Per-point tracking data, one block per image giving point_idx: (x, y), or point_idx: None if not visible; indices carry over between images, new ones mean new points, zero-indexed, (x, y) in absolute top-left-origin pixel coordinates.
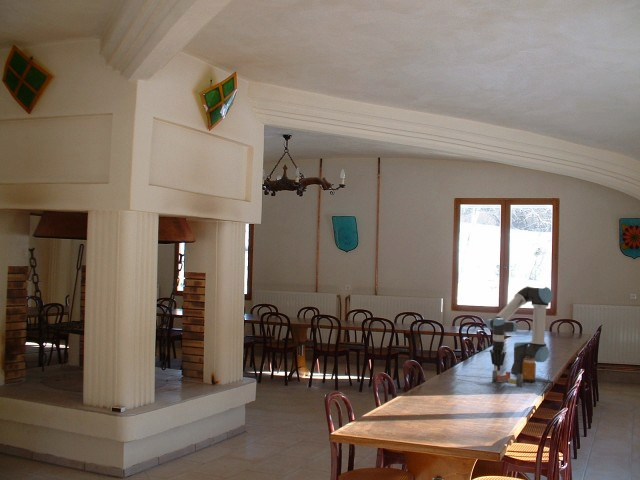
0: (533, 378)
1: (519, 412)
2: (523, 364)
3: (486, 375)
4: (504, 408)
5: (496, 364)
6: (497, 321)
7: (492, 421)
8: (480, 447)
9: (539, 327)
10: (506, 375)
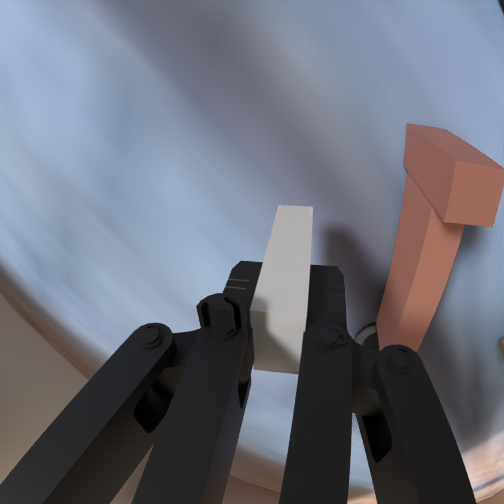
0: None
1: None
2: None
3: (45, 91)
4: (501, 471)
5: (248, 365)
6: None
7: (488, 488)
8: (486, 498)
9: None
10: (457, 236)
